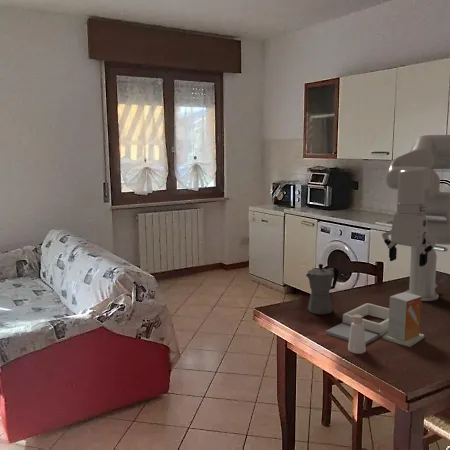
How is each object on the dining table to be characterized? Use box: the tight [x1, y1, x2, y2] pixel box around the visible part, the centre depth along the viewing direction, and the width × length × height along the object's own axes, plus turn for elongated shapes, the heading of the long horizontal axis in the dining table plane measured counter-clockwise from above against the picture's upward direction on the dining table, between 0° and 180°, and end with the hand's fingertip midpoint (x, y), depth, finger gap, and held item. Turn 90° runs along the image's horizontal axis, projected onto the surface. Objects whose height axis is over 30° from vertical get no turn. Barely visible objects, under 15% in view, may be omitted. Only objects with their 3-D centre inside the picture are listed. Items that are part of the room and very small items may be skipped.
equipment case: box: [325, 302, 389, 346], centre depth 160 cm, size 26×14×4 cm, turn 133°
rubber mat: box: [382, 332, 425, 348], centre depth 152 cm, size 10×9×1 cm
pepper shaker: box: [347, 315, 367, 355], centre depth 143 cm, size 5×5×11 cm
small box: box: [387, 291, 422, 341], centre depth 151 cm, size 8×6×13 cm
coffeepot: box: [305, 263, 340, 315], centre depth 178 cm, size 15×9×18 cm, turn 119°
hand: (407, 262), depth 149 cm, fingers open, 9 cm apart
